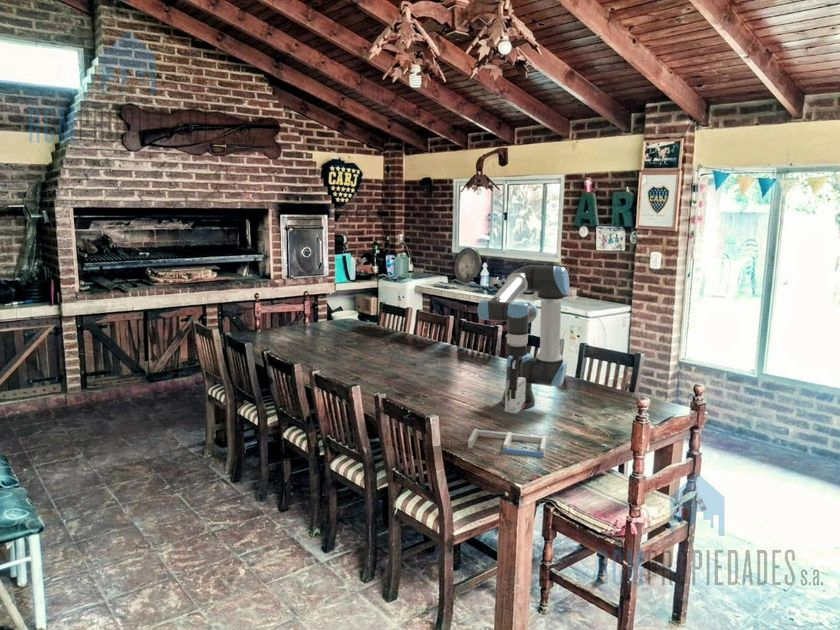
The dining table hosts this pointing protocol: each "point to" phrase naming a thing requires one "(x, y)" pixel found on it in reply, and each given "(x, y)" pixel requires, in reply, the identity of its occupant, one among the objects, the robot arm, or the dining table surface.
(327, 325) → the dining table surface
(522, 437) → the white and blue frame
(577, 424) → the dining table surface
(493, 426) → the dining table surface
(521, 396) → the ink box
